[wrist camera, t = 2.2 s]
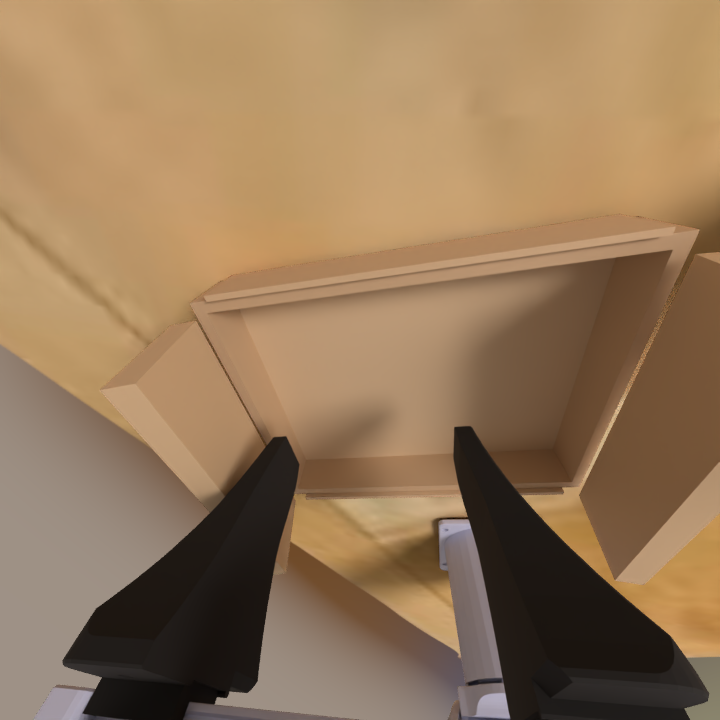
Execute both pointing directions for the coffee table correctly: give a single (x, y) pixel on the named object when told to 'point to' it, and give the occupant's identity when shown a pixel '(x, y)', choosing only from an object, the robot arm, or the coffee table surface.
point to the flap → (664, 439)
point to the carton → (447, 352)
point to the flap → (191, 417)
